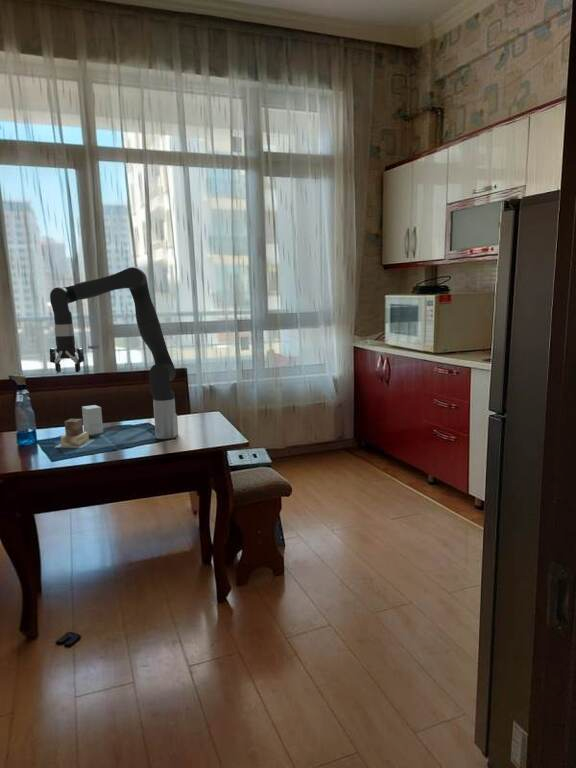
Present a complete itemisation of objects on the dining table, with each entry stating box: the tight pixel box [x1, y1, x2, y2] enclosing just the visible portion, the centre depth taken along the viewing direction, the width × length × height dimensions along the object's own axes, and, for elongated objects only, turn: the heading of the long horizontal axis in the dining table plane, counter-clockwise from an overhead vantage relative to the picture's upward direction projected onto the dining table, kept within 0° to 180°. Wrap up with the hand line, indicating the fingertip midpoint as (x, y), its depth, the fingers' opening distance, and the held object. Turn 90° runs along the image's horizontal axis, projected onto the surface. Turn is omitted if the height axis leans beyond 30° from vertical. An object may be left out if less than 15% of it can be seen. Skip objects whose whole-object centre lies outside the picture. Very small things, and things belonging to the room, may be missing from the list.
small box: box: [81, 404, 104, 436], centre depth 234 cm, size 8×6×13 cm
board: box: [55, 438, 96, 449], centre depth 218 cm, size 12×12×1 cm
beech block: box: [60, 431, 90, 446], centre depth 217 cm, size 8×8×4 cm
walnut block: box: [64, 418, 84, 436], centre depth 216 cm, size 5×5×6 cm
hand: (68, 372), depth 223 cm, fingers open, 8 cm apart
